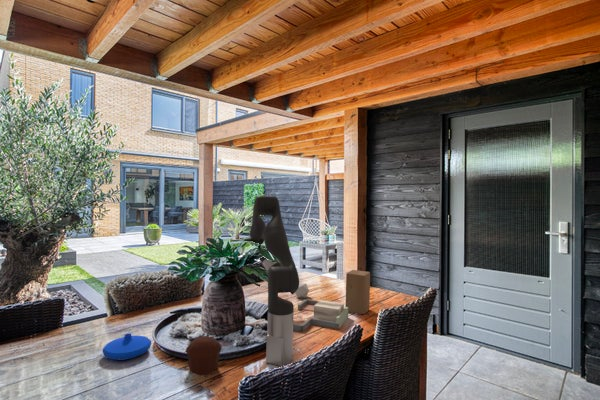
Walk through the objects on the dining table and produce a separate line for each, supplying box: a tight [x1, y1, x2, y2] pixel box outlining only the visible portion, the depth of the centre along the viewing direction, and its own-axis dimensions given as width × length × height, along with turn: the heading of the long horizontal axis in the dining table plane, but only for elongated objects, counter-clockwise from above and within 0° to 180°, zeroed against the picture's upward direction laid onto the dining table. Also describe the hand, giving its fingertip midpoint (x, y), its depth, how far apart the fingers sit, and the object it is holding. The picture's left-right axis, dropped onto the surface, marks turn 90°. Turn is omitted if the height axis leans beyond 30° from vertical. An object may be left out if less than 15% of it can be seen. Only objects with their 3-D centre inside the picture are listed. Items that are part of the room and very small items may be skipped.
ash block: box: [313, 299, 345, 322], centre depth 159 cm, size 10×12×8 cm
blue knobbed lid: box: [102, 333, 152, 361], centre depth 120 cm, size 16×16×7 cm
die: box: [294, 282, 310, 299], centre depth 194 cm, size 8×9×10 cm
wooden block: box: [344, 269, 371, 315], centre depth 173 cm, size 10×10×20 cm
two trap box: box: [293, 298, 349, 333], centre depth 161 cm, size 36×26×5 cm
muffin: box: [185, 335, 223, 376], centre depth 112 cm, size 12×11×10 cm
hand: (294, 293), depth 165 cm, fingers closed
